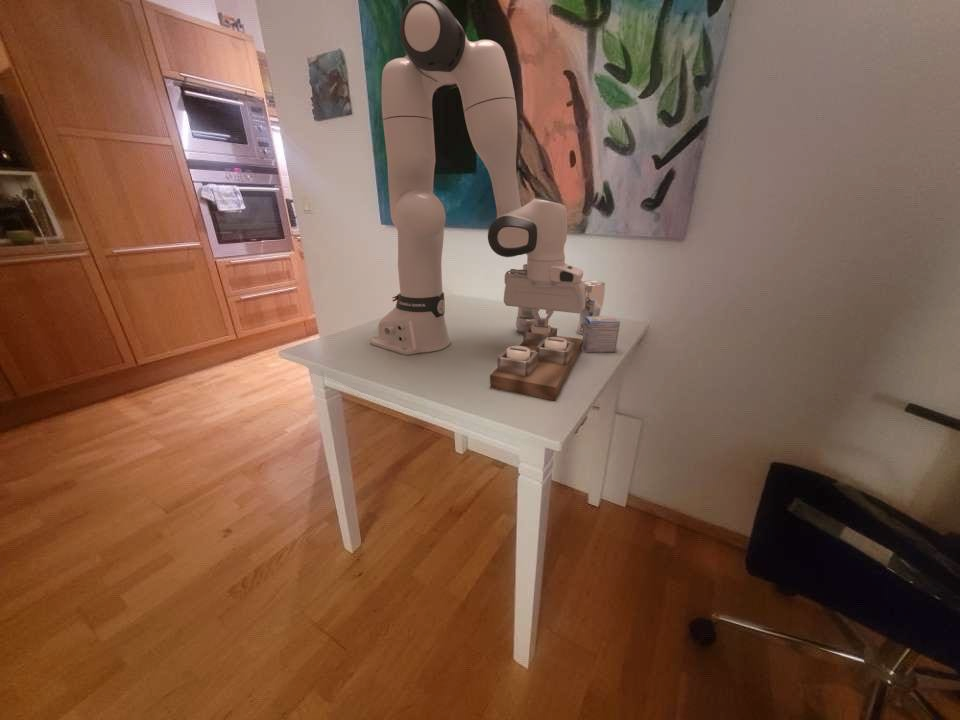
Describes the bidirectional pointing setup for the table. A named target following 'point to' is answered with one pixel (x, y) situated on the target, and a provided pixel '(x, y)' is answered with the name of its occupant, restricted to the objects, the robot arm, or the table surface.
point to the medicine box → (600, 334)
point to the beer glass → (591, 302)
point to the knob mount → (537, 367)
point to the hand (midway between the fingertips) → (541, 325)
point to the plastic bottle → (524, 316)
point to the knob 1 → (518, 353)
